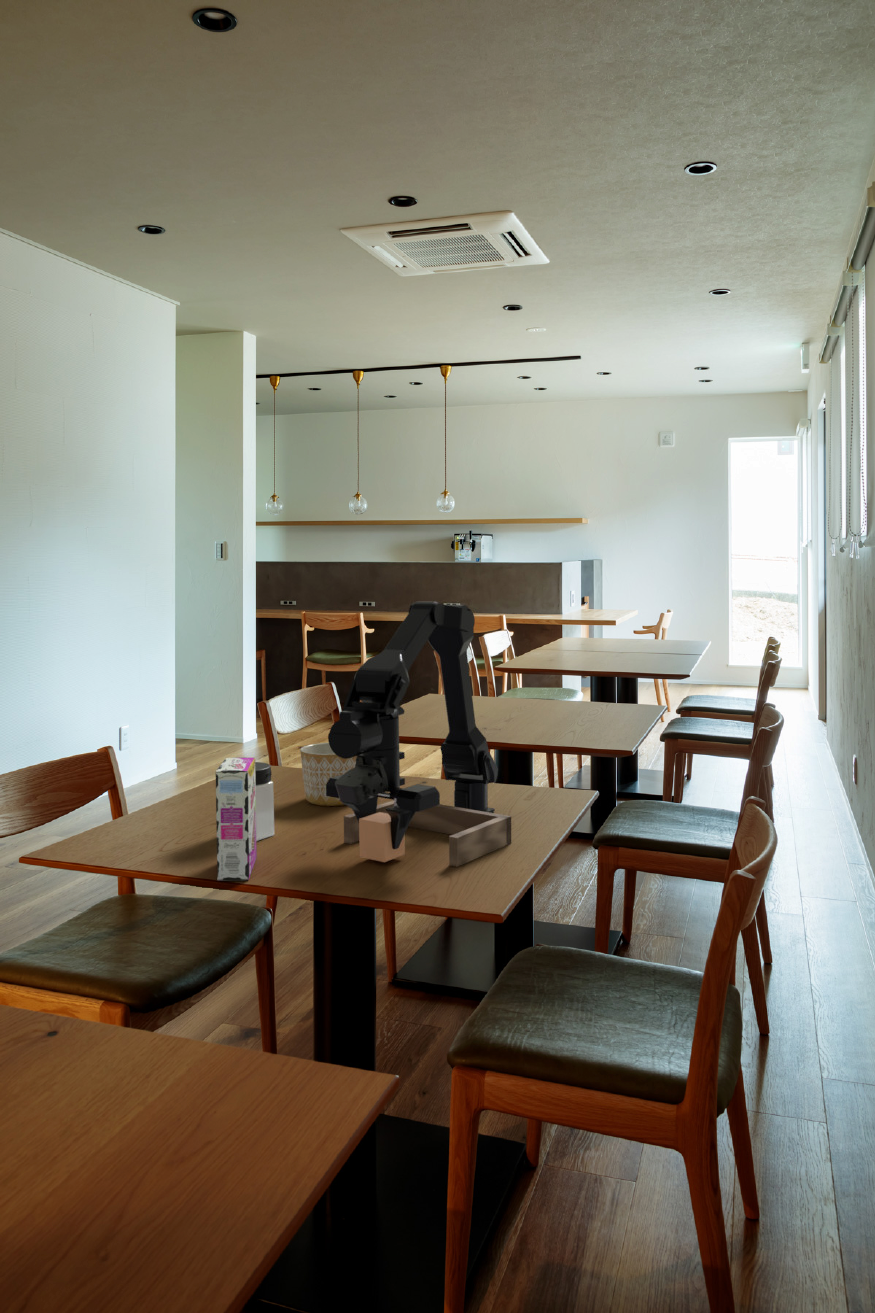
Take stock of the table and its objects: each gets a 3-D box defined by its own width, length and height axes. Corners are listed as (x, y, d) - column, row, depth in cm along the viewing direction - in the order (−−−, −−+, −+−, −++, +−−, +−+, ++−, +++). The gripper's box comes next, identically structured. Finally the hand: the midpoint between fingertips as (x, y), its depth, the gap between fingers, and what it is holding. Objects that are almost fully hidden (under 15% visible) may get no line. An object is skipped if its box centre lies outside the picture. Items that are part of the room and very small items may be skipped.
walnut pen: (402, 822, 173) (401, 797, 172) (511, 843, 159) (511, 816, 159) (344, 842, 160) (343, 816, 160) (457, 866, 147) (457, 838, 146)
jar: (279, 838, 163) (277, 768, 162) (231, 845, 160) (229, 773, 158) (264, 826, 171) (263, 759, 170) (219, 832, 168) (216, 764, 166)
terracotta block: (380, 849, 154) (379, 812, 153) (404, 854, 151) (404, 816, 150) (359, 856, 150) (359, 818, 149) (384, 862, 147) (383, 823, 146)
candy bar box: (251, 881, 141) (248, 770, 140) (216, 882, 141) (213, 771, 139) (259, 858, 152) (256, 755, 151) (226, 859, 152) (223, 756, 150)
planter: (377, 802, 188) (377, 749, 187) (319, 811, 181) (318, 756, 180) (346, 790, 199) (345, 740, 198) (290, 798, 192) (289, 746, 191)
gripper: (300, 748, 148) (302, 848, 149) (395, 762, 137) (396, 870, 138) (348, 738, 157) (350, 832, 158) (441, 750, 146) (442, 851, 147)
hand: (382, 846), depth 150 cm, fingers closed on terracotta block, 5 cm apart
